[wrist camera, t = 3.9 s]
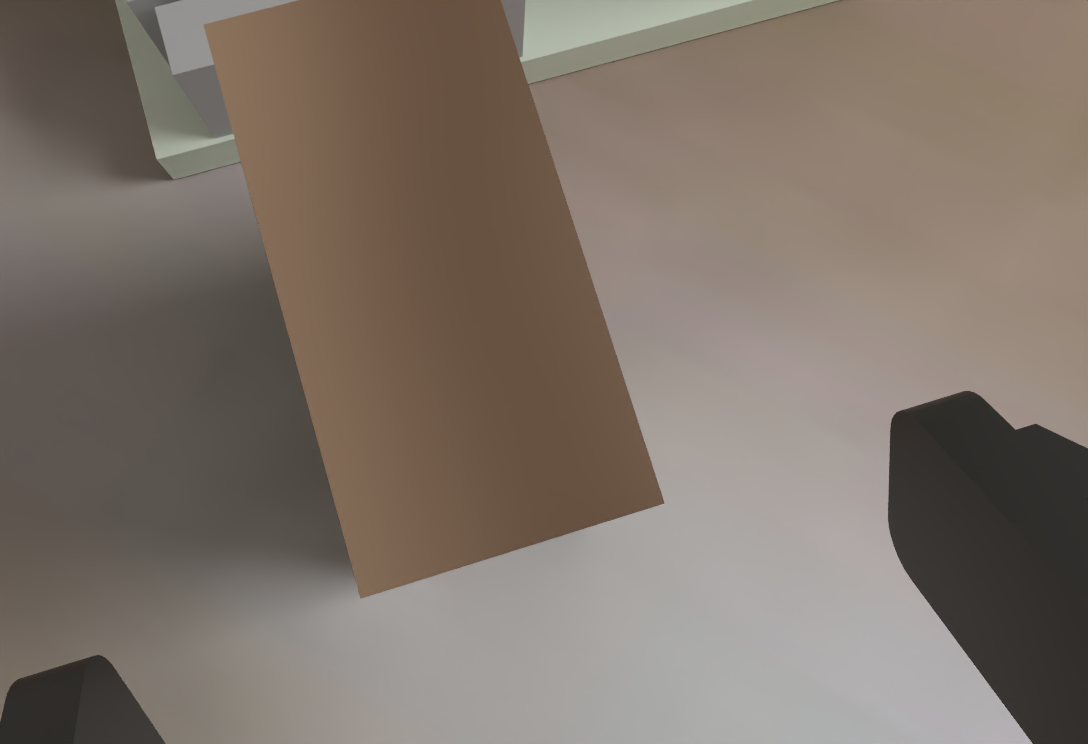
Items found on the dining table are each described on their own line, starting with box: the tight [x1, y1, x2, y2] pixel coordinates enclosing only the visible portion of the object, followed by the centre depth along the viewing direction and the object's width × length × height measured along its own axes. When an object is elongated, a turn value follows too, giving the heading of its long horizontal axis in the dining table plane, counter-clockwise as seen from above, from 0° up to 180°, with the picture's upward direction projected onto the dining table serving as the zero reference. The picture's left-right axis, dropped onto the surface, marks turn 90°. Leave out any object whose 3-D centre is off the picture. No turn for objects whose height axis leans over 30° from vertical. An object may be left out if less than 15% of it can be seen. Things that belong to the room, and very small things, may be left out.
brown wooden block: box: [204, 0, 664, 598], centre depth 15 cm, size 3×6×9 cm, turn 17°
